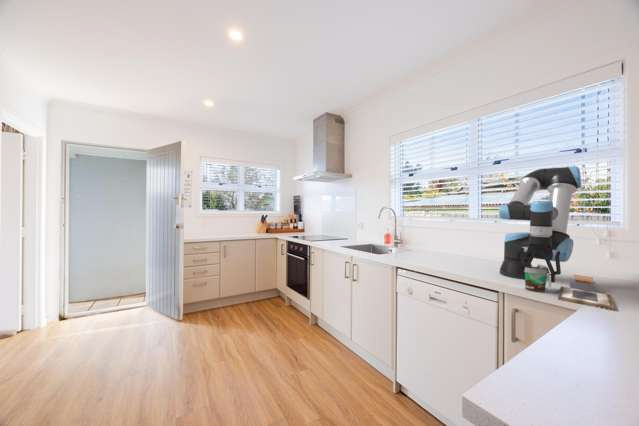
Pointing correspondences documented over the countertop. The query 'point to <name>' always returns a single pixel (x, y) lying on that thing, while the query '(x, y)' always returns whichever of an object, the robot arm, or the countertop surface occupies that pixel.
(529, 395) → the countertop surface
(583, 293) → the drawing board
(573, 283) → the button housing
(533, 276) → the food container
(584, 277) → the button
